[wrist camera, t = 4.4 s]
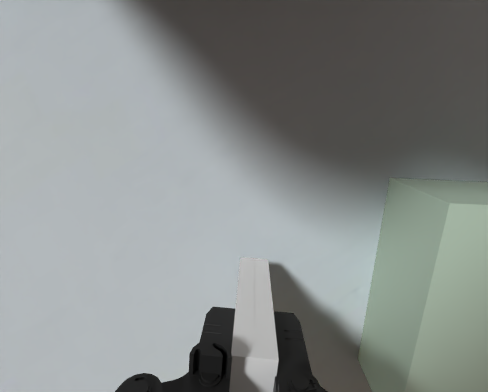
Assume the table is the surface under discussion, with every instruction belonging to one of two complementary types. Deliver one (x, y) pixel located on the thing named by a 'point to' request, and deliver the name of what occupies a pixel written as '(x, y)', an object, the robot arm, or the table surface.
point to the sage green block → (429, 290)
